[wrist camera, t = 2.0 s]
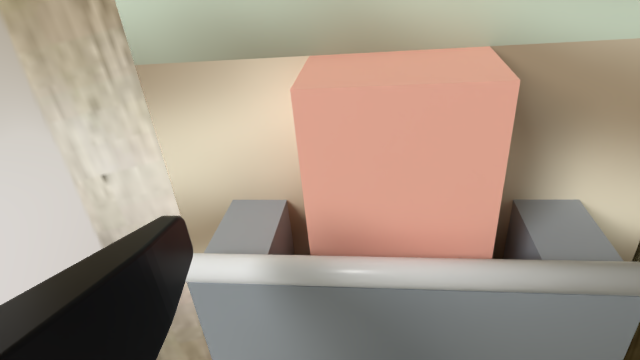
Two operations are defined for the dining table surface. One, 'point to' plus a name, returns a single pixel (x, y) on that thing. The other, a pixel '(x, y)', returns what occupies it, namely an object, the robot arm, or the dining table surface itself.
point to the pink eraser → (404, 151)
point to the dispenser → (416, 294)
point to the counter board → (384, 36)
